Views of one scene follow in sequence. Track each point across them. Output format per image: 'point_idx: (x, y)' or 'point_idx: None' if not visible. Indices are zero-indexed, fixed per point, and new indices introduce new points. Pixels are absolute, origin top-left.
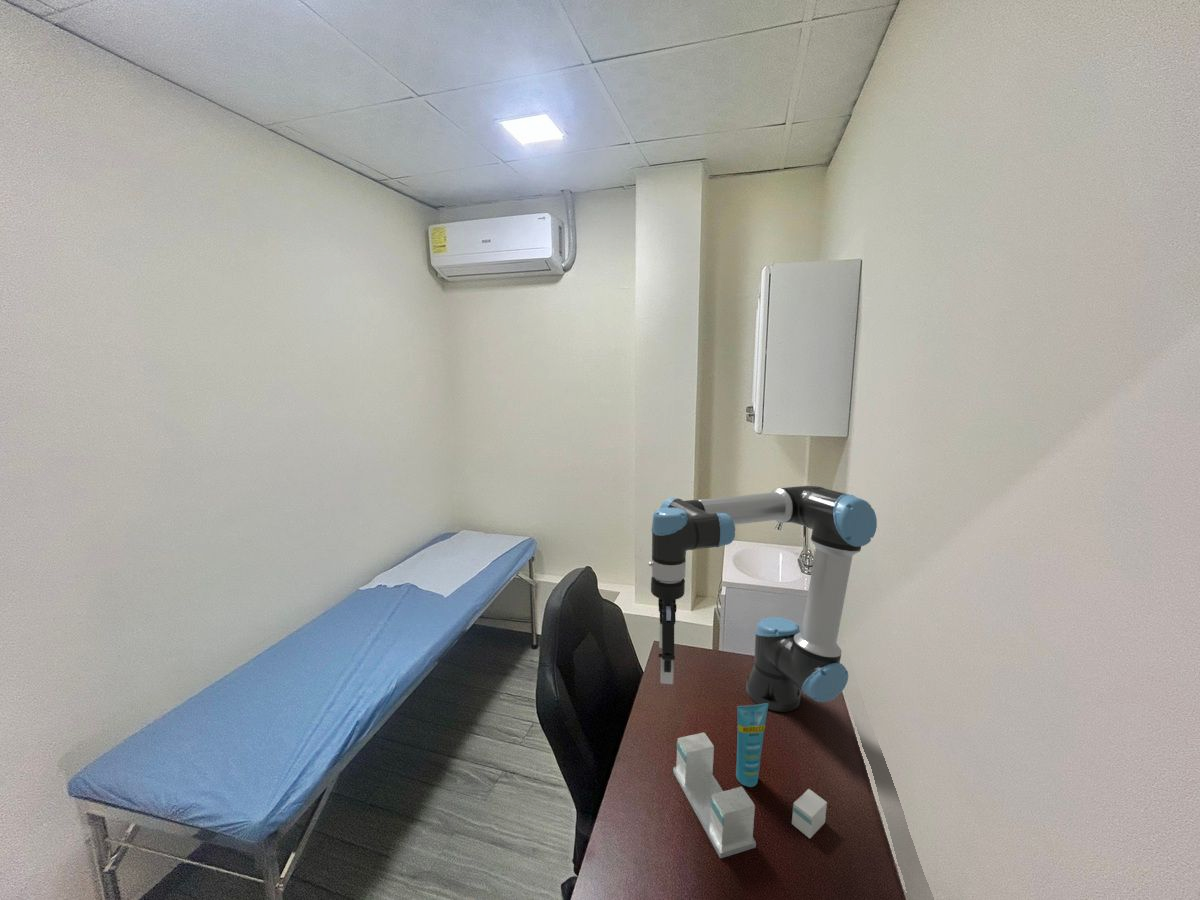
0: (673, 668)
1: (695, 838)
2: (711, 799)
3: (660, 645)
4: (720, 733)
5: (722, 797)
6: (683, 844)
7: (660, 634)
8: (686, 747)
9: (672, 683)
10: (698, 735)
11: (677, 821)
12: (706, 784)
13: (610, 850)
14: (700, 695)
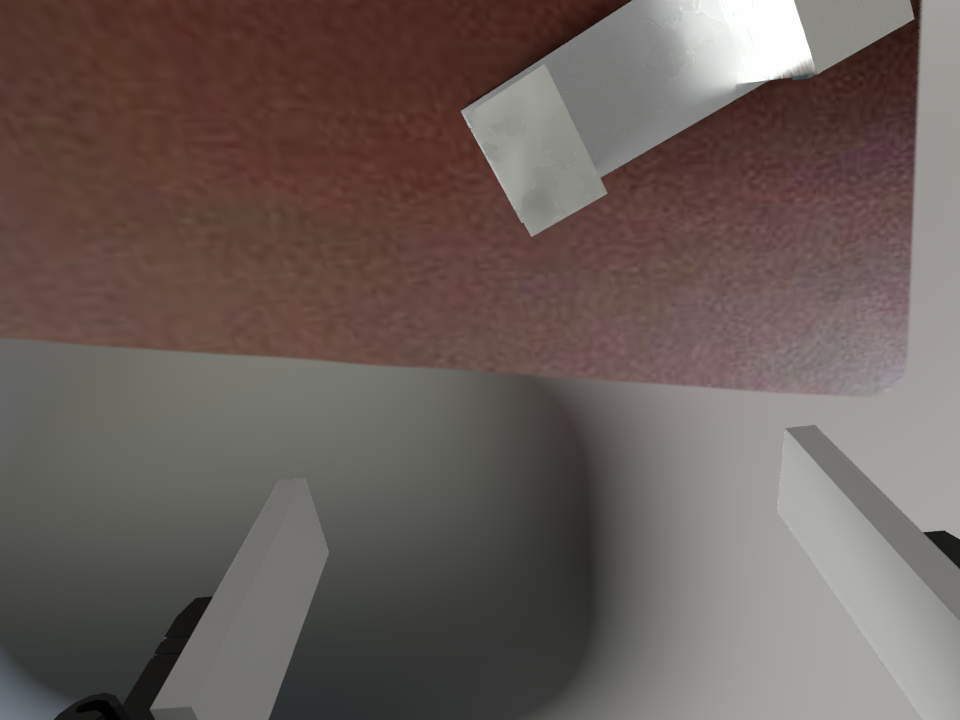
0: (911, 522)
1: (758, 130)
2: (813, 75)
3: (319, 560)
4: (274, 36)
5: (831, 23)
6: (780, 167)
7: (286, 652)
8: (577, 195)
9: (819, 433)
10: (492, 142)
11: (705, 191)
12: (570, 96)
13: (806, 360)
14: (77, 132)
